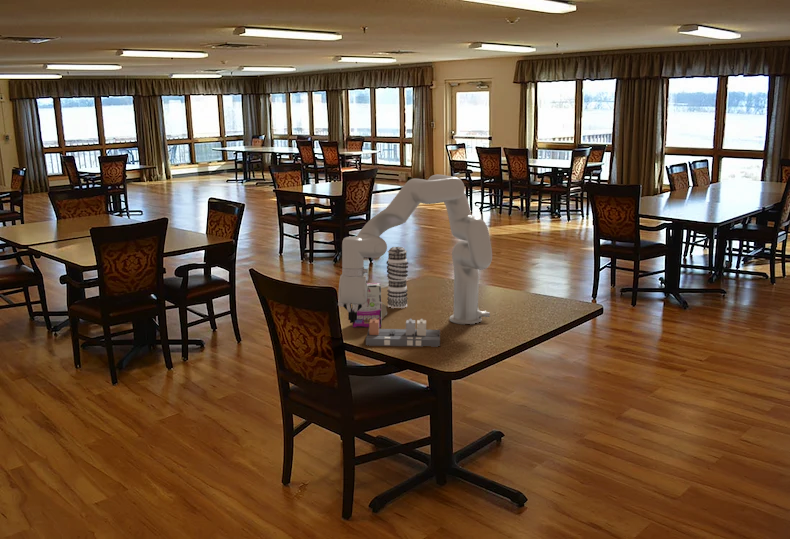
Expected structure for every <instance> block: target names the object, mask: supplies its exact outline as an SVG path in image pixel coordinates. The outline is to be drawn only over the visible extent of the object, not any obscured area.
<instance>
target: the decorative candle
mask: <svg viewBox="0 0 790 539" xmlns="http://www.w3.org/2000/svg"><path fill="white" fill-rule="evenodd" d="M407 252H408V250H406V249H405V247H402V246H392V247H390V248H389V250H387V253H388V258H387V261H386V265H387V266H386V269H387V270H386V273H387V274H386V277H387V281H388V285H387V291H386V292H387V296H388V297H387V298H386V300H387V308H389V307H391V308H390V309H394V308H401V309H405V307H406V308H408V299H409V298H408V287H407V280H408V277H409V275H408V274H407V273H408V272H409V271H408V270H407V269H408V268H409V262H408V259H407Z"/></svg>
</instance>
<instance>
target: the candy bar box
mask: <svg viewBox="0 0 790 539" xmlns="http://www.w3.org/2000/svg"><path fill="white" fill-rule="evenodd" d="M367 293H368V297H367V303H368V306H367V307H362V308H360V309H359V310H358V311H357V320H355V323H353V322H352V323H351V324H352V328H369V322H370V319H374V318H376V320H379V328H381V327H382V322H383V321H382V320H383V319H382V316H381V302H382V282H367ZM354 307H355V304H351V308H352V310H354Z"/></svg>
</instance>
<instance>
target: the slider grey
mask: <svg viewBox="0 0 790 539" xmlns="http://www.w3.org/2000/svg"><path fill="white" fill-rule="evenodd" d="M405 329H406V335H412V334H414V336H415V329H416V319H412V318H409V319H406V321H405Z"/></svg>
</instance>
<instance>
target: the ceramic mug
mask: <svg viewBox="0 0 790 539" xmlns="http://www.w3.org/2000/svg"><path fill="white" fill-rule="evenodd" d="M387 308H388V307H387V305H386V304H385V303H384V302H383V301H381V316H382V320H383V319H384V318H385V317H386V316H387V314H388V311H387V310H388V309H387Z"/></svg>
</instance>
